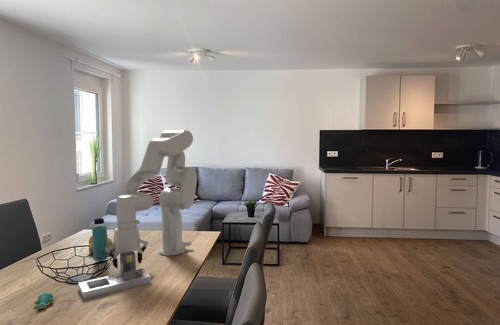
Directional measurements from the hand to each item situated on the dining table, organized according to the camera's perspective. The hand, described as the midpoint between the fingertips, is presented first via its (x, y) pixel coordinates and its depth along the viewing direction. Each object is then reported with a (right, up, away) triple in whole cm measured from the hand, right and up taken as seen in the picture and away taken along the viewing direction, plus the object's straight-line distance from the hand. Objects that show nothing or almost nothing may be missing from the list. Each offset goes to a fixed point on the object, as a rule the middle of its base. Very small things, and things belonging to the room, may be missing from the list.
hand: (127, 264), depth 145 cm
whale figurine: (-18, -5, -29) cm, 35 cm away
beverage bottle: (-17, -2, +12) cm, 20 cm away
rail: (0, -4, -14) cm, 15 cm away
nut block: (0, -3, 0) cm, 3 cm away
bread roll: (-22, -2, +25) cm, 33 cm away
